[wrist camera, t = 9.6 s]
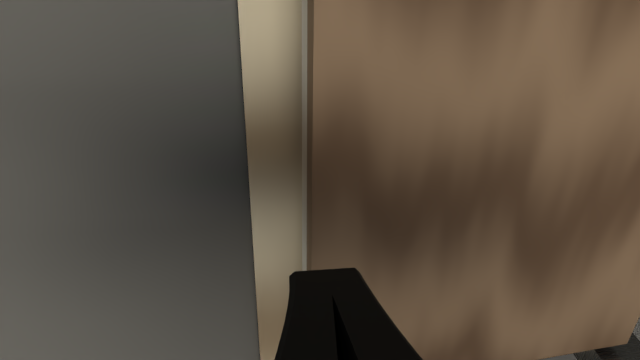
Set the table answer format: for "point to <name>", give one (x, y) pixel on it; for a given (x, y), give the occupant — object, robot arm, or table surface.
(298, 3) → the board
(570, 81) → the flip panel
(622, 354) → the grey long block
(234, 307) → the table surface
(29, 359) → the table surface
